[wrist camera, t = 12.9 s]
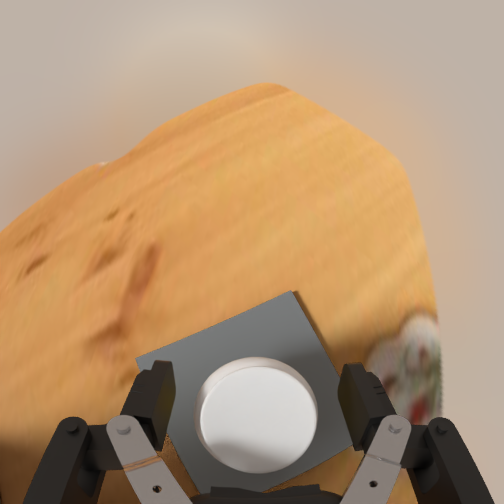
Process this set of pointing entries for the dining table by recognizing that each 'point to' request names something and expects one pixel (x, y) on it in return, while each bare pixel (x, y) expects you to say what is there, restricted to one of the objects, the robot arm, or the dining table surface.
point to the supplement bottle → (256, 415)
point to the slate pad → (243, 346)
